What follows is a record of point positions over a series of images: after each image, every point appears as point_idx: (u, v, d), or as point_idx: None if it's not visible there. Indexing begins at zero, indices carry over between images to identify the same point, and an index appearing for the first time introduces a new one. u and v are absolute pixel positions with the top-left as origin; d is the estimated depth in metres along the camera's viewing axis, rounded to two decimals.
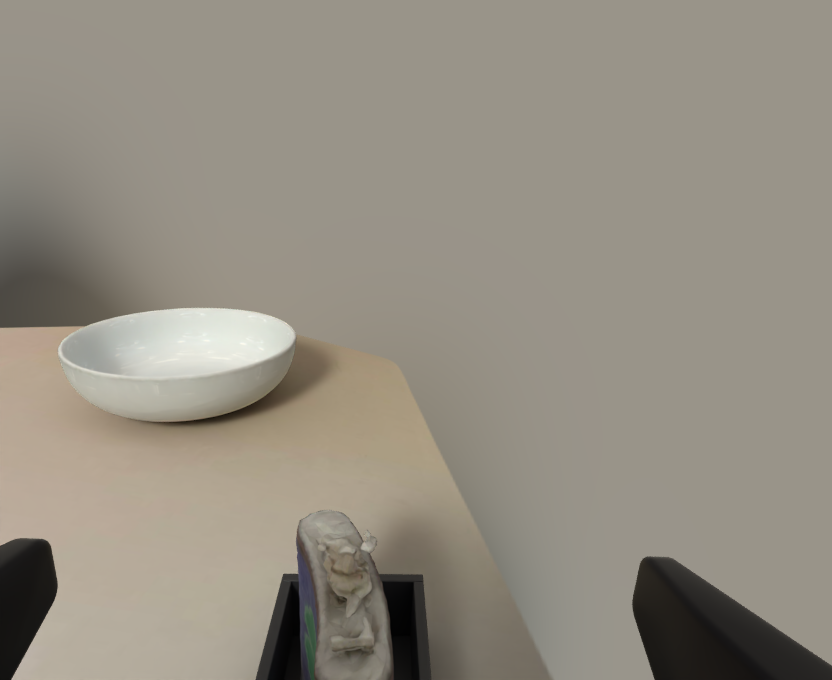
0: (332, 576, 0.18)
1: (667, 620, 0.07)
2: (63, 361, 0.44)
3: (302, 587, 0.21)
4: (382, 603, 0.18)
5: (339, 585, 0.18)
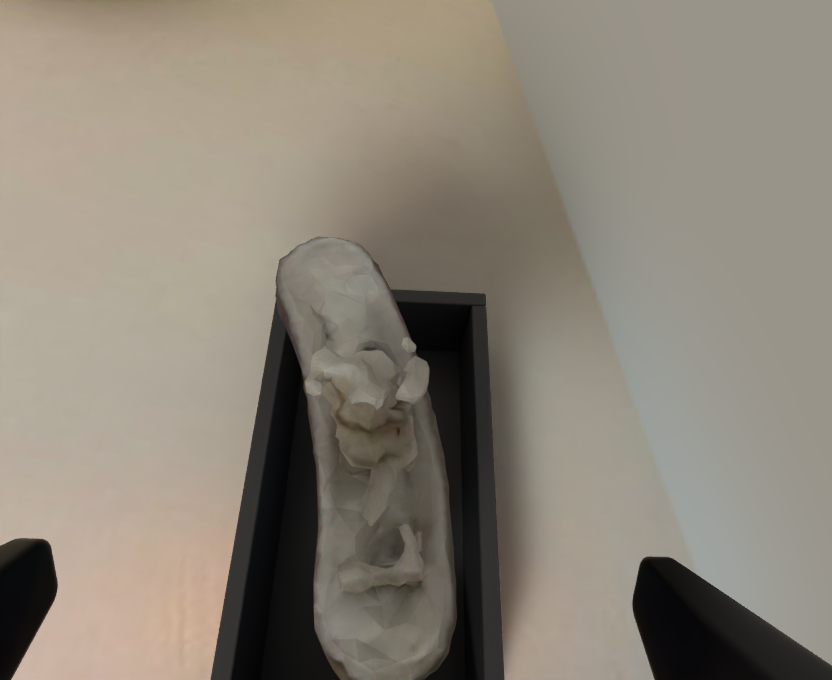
0: (339, 431, 0.09)
1: (667, 620, 0.07)
2: None
3: None
4: (436, 465, 0.10)
5: (354, 449, 0.09)
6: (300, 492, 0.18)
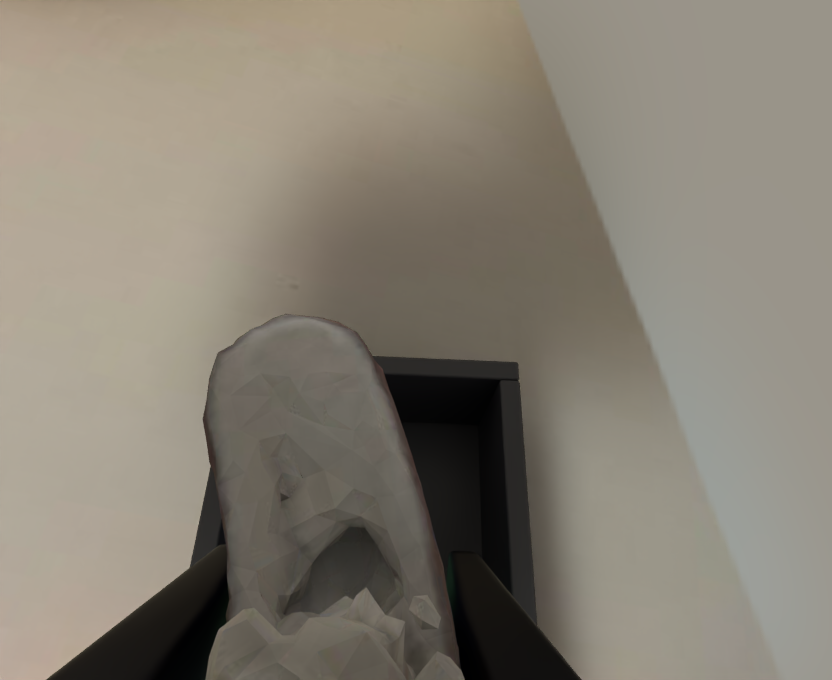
0: None
1: (452, 614, 0.07)
2: None
3: None
4: None
5: None
6: None
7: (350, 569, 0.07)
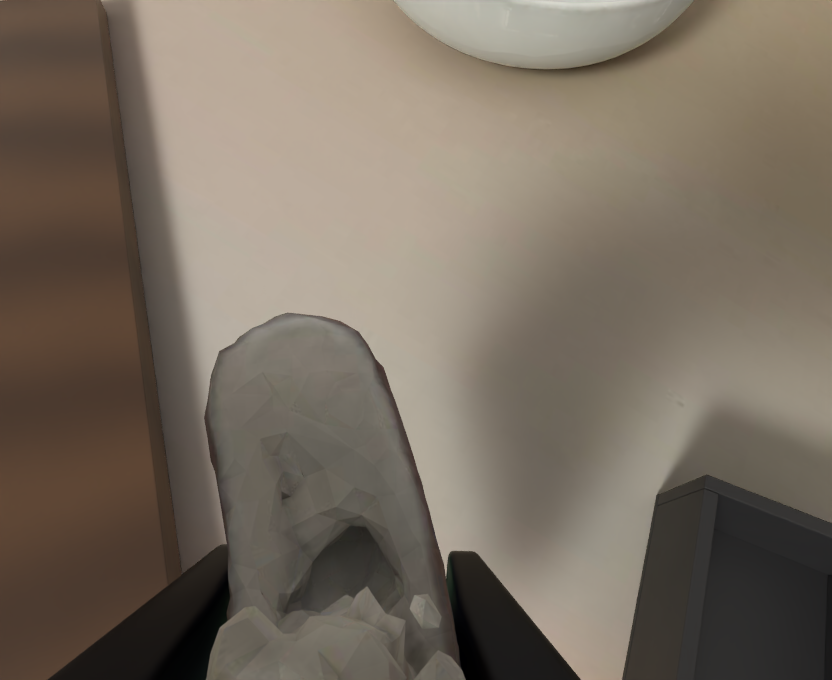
0: None
1: None
2: None
3: None
4: None
5: None
6: None
7: (350, 568, 0.07)
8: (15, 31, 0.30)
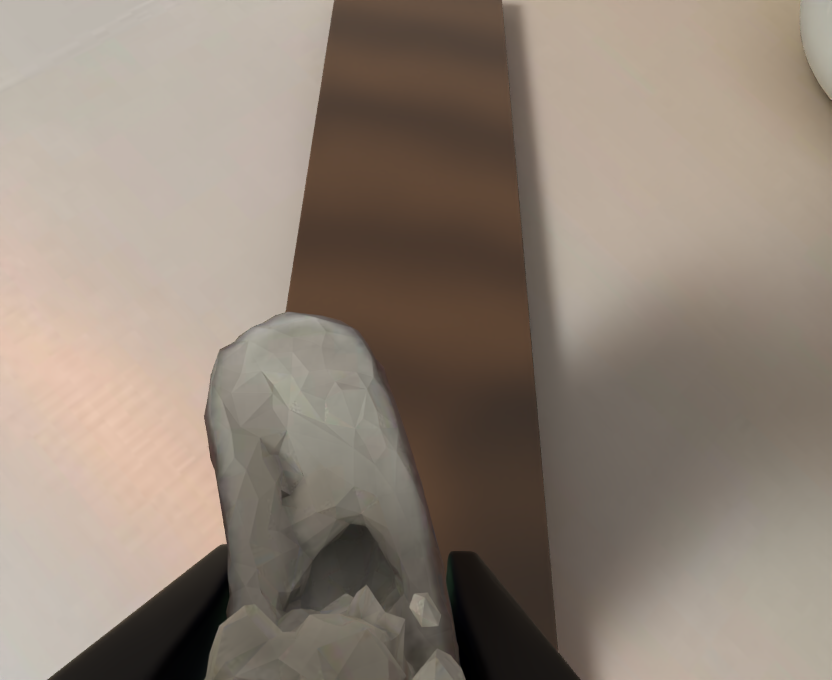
0: None
1: None
2: None
3: None
4: None
5: None
6: None
7: (350, 567, 0.07)
8: (429, 18, 0.31)
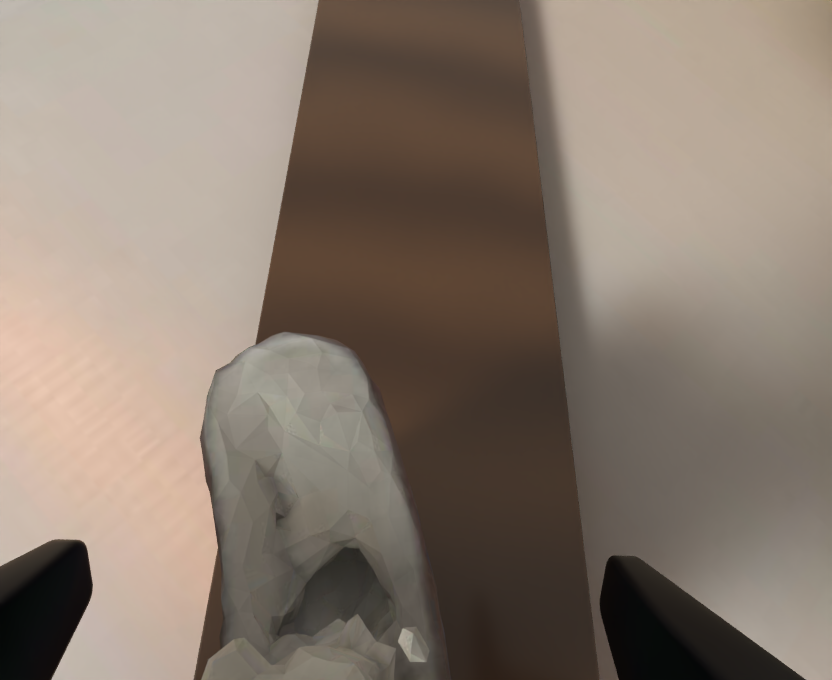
0: None
1: (630, 619, 0.07)
2: None
3: None
4: None
5: None
6: None
7: (345, 588, 0.07)
8: None
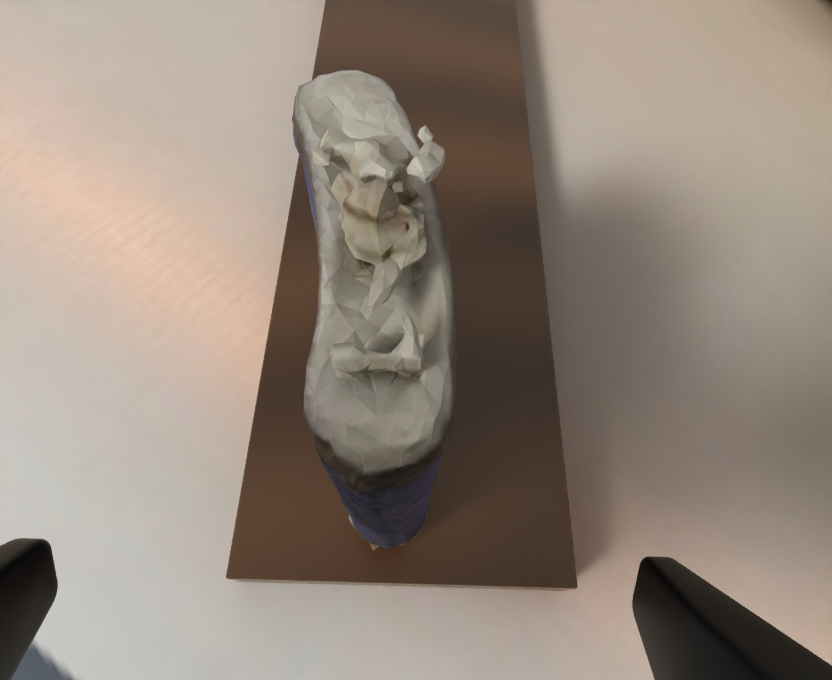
0: (345, 219, 0.08)
1: (667, 620, 0.07)
2: None
3: (312, 206, 0.13)
4: (445, 277, 0.09)
5: (359, 239, 0.08)
6: None
7: None
8: None
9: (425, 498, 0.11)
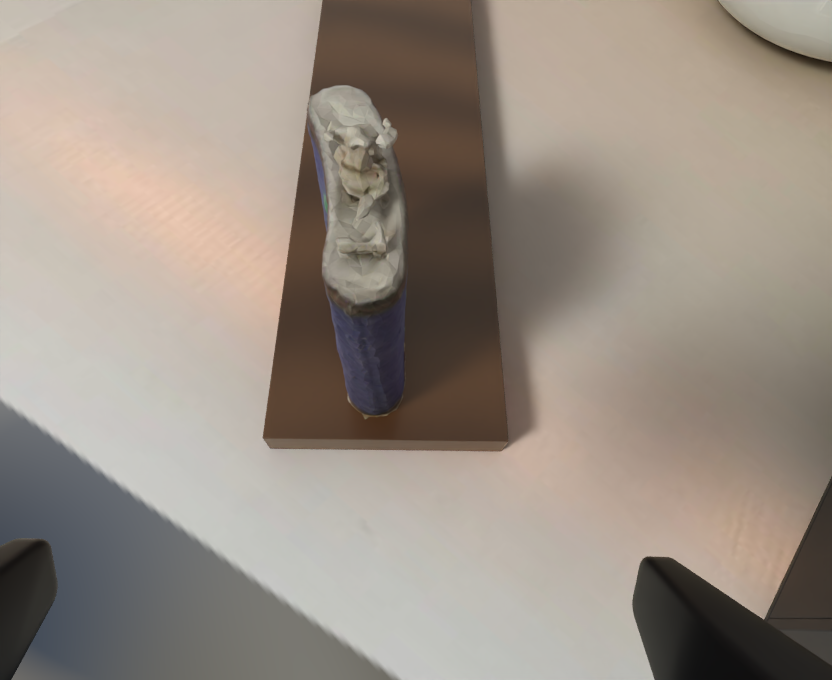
0: (342, 171, 0.15)
1: (667, 620, 0.07)
2: None
3: (319, 175, 0.19)
4: (401, 206, 0.16)
5: (350, 183, 0.15)
6: None
7: None
8: None
9: (395, 353, 0.18)
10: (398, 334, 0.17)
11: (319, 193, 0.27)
